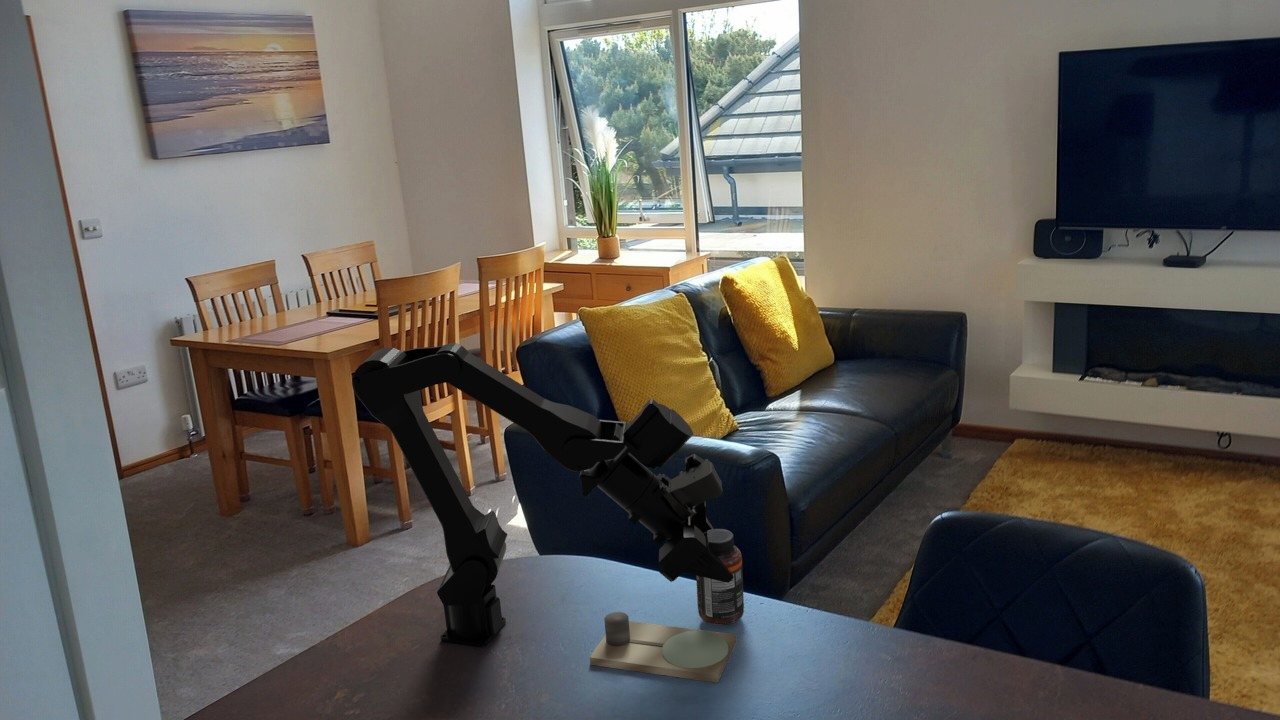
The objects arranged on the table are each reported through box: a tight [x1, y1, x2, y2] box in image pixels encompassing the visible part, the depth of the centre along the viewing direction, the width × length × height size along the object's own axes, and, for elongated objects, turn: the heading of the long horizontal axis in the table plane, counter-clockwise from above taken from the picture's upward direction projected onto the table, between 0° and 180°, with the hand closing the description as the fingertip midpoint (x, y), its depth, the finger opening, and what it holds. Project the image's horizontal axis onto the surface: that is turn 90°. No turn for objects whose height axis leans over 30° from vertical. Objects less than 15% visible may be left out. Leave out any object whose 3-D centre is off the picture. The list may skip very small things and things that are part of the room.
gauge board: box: [589, 611, 738, 684], centre depth 120 cm, size 16×9×4 cm, turn 70°
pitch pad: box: [662, 630, 728, 669], centre depth 118 cm, size 8×8×1 cm
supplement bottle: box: [695, 528, 745, 626], centre depth 125 cm, size 6×6×11 cm
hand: (729, 567), depth 125 cm, fingers closed on supplement bottle, 6 cm apart
